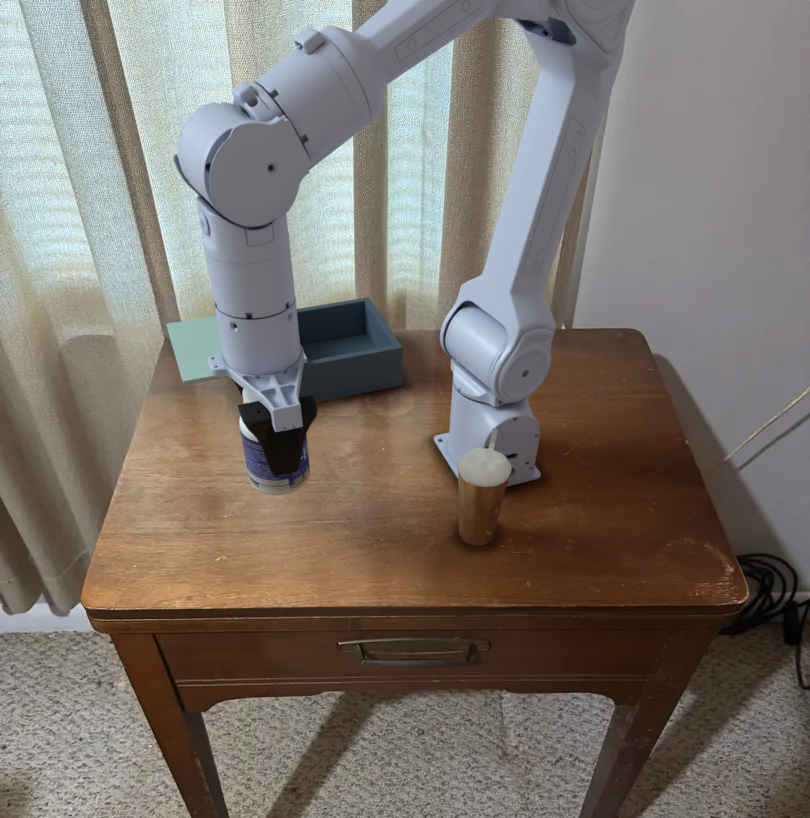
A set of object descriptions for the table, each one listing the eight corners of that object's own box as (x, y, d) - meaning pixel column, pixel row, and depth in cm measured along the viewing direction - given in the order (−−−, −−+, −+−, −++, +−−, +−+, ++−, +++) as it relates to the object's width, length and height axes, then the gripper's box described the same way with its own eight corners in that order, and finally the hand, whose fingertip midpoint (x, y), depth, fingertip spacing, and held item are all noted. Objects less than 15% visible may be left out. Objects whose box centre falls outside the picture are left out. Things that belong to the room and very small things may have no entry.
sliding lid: (307, 362, 80) (303, 322, 77) (183, 385, 77) (174, 344, 74) (280, 308, 88) (276, 270, 85) (167, 327, 85) (157, 288, 81)
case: (402, 385, 87) (403, 347, 83) (292, 407, 83) (287, 368, 80) (369, 333, 94) (368, 296, 91) (267, 352, 91) (262, 314, 88)
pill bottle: (307, 498, 63) (297, 411, 57) (244, 496, 63) (227, 410, 57) (313, 457, 67) (305, 371, 61) (254, 456, 67) (239, 370, 61)
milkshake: (508, 517, 72) (521, 433, 64) (494, 556, 68) (506, 472, 61) (462, 506, 73) (470, 422, 65) (446, 544, 69) (452, 459, 62)
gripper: (181, 263, 57) (212, 410, 67) (217, 363, 48) (247, 517, 57) (273, 249, 59) (290, 394, 69) (325, 343, 49) (336, 496, 59)
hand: (276, 449), depth 63 cm, fingers closed on pill bottle, 5 cm apart
